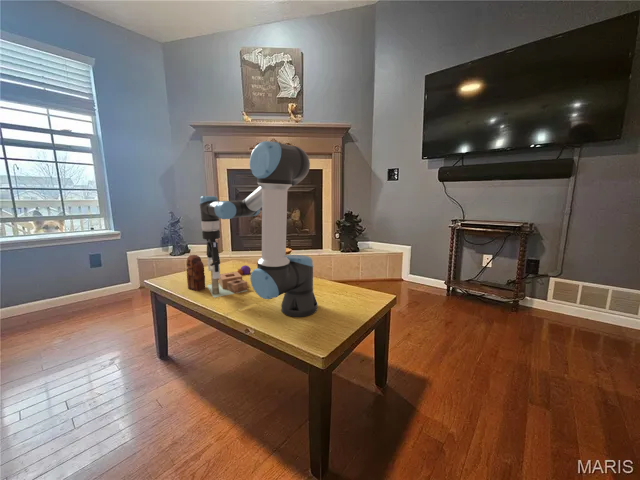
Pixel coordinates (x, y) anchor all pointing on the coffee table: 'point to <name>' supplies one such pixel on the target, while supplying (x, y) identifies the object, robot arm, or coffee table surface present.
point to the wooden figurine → (195, 273)
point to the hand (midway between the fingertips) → (214, 274)
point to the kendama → (244, 270)
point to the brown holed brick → (237, 285)
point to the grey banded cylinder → (214, 281)
